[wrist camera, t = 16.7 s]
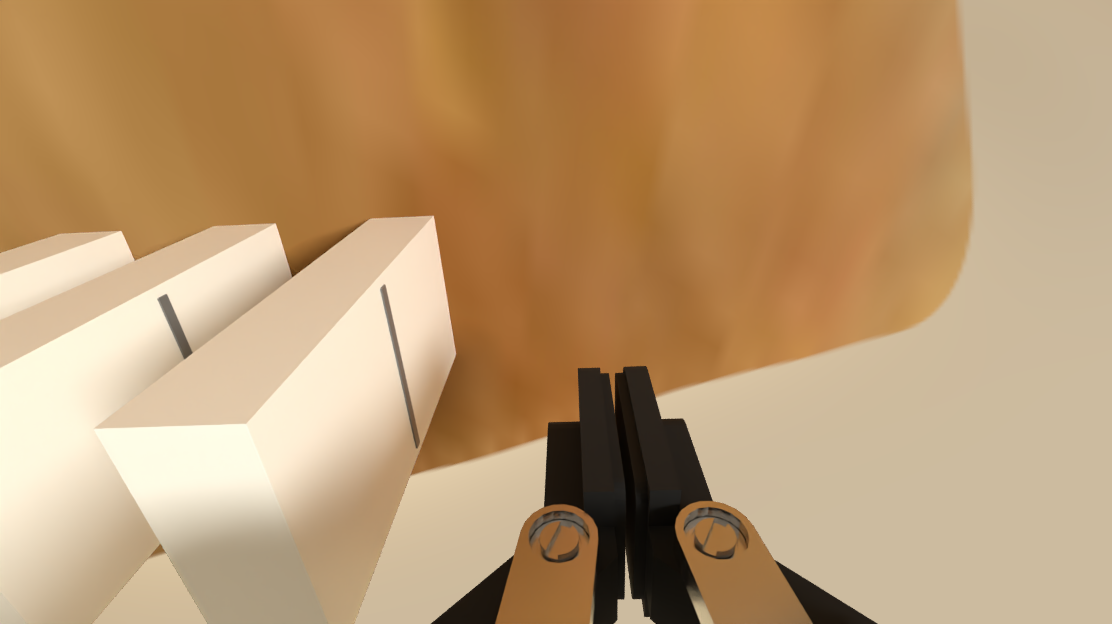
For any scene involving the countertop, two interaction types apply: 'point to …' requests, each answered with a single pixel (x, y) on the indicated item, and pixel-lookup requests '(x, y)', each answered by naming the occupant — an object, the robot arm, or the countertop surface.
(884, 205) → the countertop surface
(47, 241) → the domino
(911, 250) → the countertop surface
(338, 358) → the domino
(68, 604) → the domino
